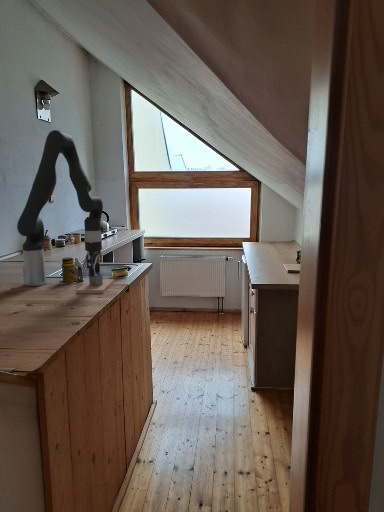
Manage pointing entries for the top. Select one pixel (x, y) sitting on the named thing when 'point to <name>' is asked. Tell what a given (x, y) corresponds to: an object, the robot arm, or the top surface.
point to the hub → (96, 280)
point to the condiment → (68, 271)
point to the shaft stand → (96, 287)
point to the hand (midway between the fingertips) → (94, 274)
